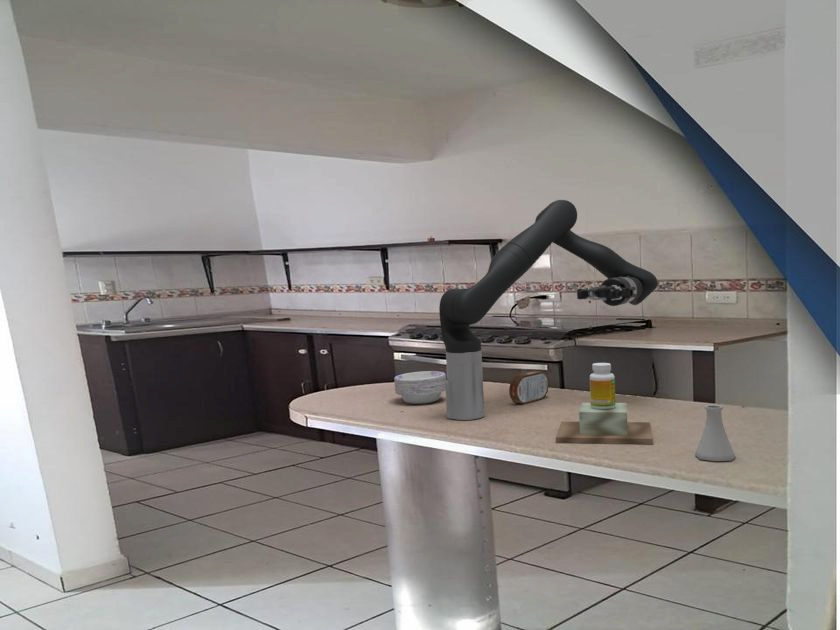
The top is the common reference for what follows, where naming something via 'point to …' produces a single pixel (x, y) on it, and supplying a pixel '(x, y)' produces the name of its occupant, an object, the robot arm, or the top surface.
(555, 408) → the top surface
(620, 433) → the pedestal
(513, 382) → the tin
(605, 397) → the supplement bottle
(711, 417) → the flask
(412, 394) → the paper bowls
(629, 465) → the top surface
